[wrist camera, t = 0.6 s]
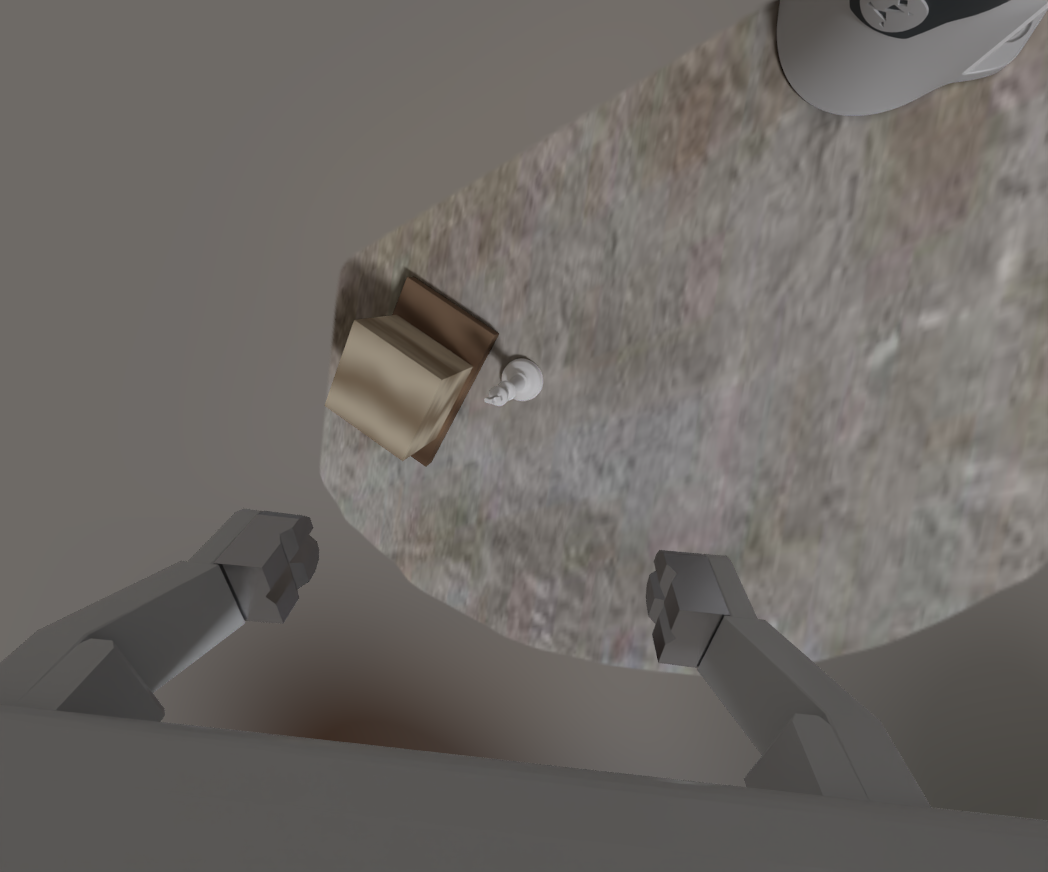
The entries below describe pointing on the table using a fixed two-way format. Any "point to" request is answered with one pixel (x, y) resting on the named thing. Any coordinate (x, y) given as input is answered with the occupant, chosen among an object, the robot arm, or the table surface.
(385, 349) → the walnut base
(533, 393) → the chess piece
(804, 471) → the table surface
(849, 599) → the table surface
